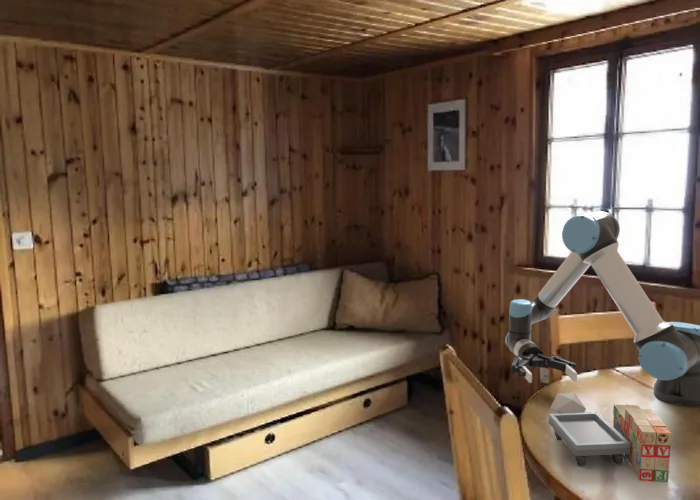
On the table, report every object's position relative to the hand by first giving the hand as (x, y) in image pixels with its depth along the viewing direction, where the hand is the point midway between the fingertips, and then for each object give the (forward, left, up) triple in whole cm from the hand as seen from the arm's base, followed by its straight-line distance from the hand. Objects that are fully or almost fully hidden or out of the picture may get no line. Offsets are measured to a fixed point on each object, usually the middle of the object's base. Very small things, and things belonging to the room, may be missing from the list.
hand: (553, 377), depth 166 cm
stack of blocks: (-9, +31, -9) cm, 33 cm away
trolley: (+2, +27, -9) cm, 28 cm away
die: (0, +10, -9) cm, 14 cm away
